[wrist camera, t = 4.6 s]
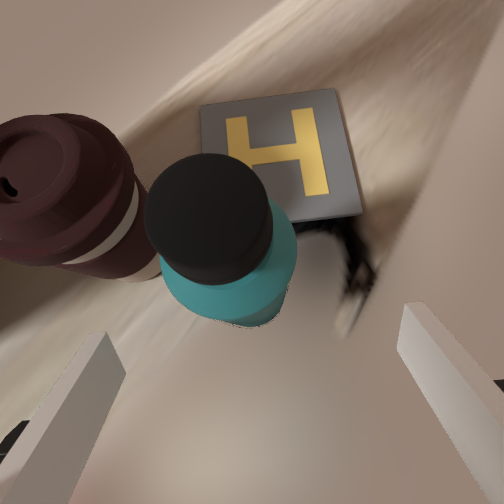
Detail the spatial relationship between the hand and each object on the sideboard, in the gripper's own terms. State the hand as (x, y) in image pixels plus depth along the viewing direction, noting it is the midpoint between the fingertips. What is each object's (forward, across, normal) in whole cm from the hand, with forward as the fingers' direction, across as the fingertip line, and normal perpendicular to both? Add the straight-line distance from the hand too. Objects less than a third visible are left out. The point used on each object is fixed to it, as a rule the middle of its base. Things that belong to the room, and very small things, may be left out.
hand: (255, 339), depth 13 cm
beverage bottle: (+13, -1, -7) cm, 15 cm away
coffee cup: (+17, -12, -3) cm, 21 cm away
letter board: (+23, +3, +4) cm, 24 cm away
